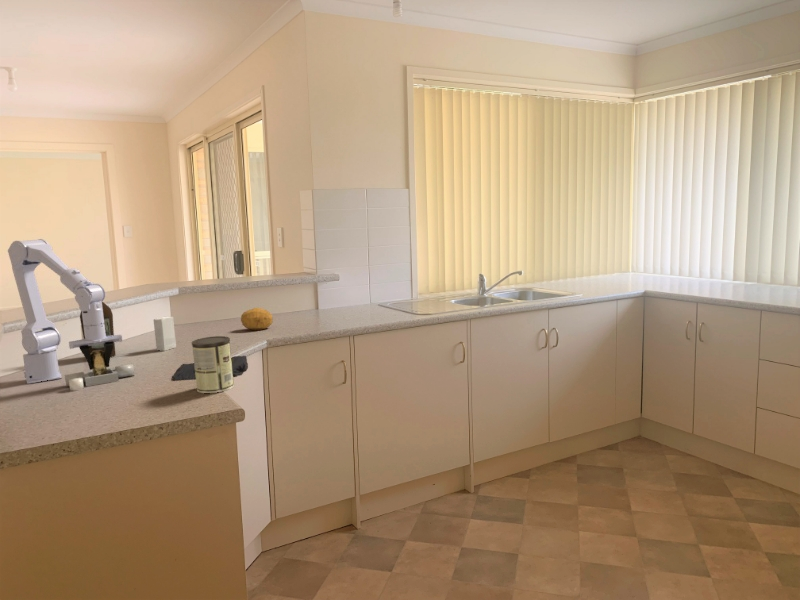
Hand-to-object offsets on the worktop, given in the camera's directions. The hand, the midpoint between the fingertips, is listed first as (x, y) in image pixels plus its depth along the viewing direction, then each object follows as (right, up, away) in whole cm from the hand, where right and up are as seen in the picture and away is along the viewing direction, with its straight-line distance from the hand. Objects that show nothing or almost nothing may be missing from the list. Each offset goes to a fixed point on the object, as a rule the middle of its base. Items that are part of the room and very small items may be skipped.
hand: (99, 367), depth 186 cm
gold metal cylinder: (0, -2, 0) cm, 2 cm away
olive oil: (-16, 0, +35) cm, 38 cm away
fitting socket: (0, -4, +1) cm, 4 cm away
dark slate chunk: (+34, -3, +4) cm, 34 cm away
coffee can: (+40, -4, -15) cm, 43 cm away
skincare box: (+4, +2, +43) cm, 43 cm away
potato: (+31, +8, +74) cm, 81 cm away
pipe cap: (-3, -6, -8) cm, 10 cm away
